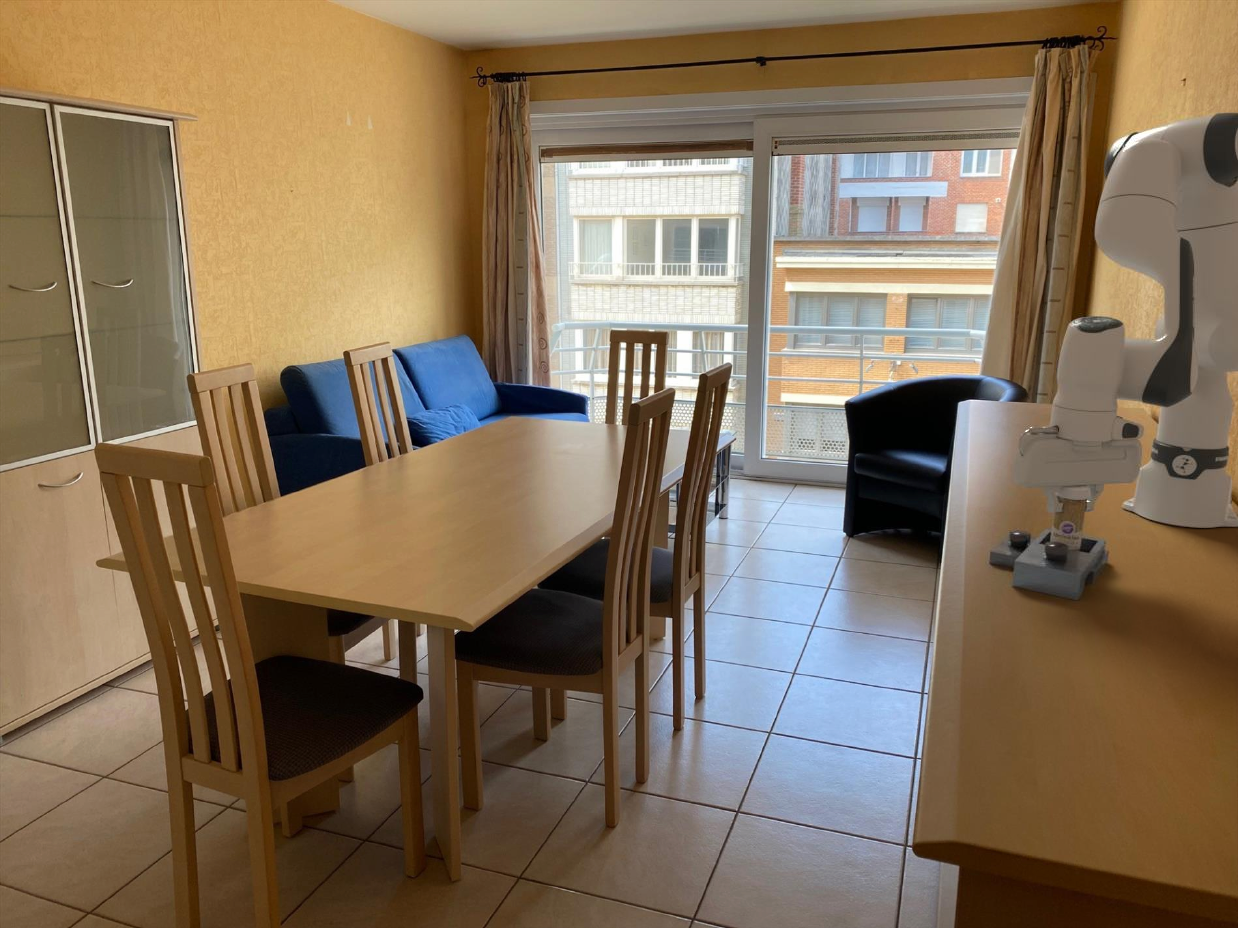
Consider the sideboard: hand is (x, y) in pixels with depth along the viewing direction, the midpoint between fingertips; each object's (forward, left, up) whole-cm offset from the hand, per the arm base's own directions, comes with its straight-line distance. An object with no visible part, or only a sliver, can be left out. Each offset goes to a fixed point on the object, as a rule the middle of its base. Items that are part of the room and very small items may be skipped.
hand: (1069, 511), depth 142 cm
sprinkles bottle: (0, 0, -9) cm, 9 cm away
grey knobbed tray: (0, -2, -9) cm, 9 cm away
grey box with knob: (+4, 0, -9) cm, 10 cm away
